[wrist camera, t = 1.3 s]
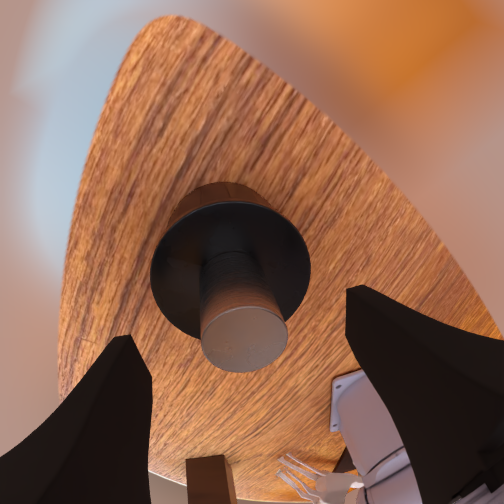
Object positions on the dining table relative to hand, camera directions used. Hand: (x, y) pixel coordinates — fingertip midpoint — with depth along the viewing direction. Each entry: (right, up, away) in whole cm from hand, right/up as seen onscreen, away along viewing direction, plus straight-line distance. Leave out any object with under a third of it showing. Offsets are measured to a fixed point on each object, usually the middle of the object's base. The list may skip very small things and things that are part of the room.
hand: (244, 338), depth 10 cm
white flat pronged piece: (+10, -25, +23) cm, 36 cm away
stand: (-5, -22, +19) cm, 29 cm away
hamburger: (+18, -24, +24) cm, 39 cm away
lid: (-1, +2, +4) cm, 4 cm away
